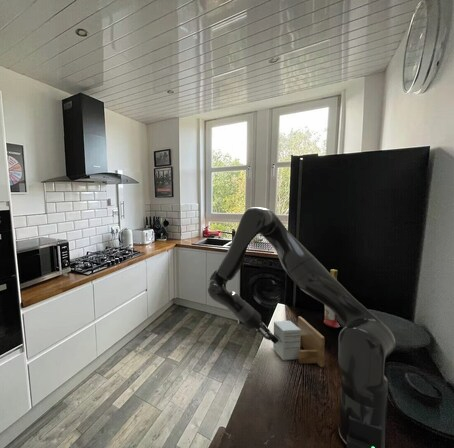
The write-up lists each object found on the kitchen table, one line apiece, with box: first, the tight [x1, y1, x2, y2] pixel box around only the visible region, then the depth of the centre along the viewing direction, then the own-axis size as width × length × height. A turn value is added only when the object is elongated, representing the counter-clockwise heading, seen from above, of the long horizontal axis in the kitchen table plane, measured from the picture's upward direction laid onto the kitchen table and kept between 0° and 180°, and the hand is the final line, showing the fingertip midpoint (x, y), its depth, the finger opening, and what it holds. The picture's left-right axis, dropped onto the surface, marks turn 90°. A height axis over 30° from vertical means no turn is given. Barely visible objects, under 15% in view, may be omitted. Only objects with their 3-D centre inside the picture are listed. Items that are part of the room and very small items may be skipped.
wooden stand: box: [297, 316, 326, 368], centre depth 100 cm, size 8×16×12 cm, turn 178°
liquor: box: [323, 268, 341, 329], centre depth 118 cm, size 7×7×28 cm
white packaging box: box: [272, 320, 301, 361], centre depth 100 cm, size 7×7×13 cm
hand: (275, 341), depth 101 cm, fingers closed
